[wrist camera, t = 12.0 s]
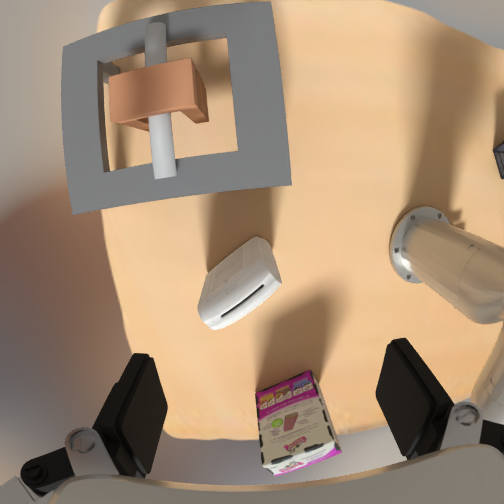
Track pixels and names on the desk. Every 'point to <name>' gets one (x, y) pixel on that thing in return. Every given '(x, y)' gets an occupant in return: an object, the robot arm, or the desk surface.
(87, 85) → the grey square frame
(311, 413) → the candy bar box
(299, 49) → the desk surface
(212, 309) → the photo printer
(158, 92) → the u-shaped wooden block
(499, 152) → the small box
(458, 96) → the desk surface
